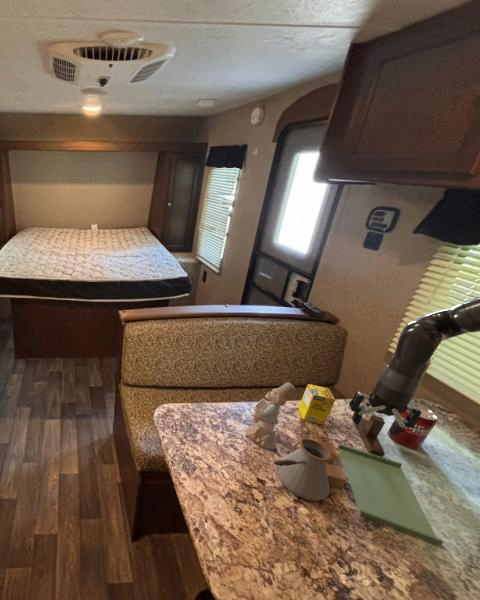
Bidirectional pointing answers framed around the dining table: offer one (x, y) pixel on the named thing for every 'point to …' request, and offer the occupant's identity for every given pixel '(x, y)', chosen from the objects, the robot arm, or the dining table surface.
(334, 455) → the cork cube
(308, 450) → the coffee pot
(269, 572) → the dining table surface
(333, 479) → the cork cube
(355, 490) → the tray
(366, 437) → the brown wooden t-shape
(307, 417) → the supplement box
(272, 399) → the figurine
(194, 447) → the dining table surface
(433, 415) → the soda can
